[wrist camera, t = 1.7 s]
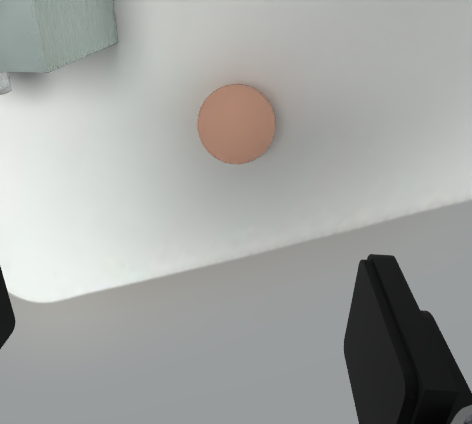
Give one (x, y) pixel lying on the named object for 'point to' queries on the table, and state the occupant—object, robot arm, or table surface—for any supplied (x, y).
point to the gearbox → (51, 34)
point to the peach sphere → (236, 124)
